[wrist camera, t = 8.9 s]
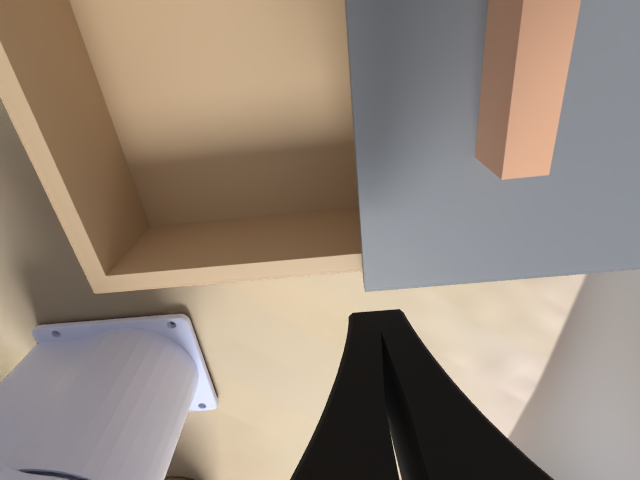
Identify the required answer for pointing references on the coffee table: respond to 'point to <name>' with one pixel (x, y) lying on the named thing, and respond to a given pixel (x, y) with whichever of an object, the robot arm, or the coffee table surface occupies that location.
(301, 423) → the coffee table surface
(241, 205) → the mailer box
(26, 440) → the robot arm
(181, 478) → the mug
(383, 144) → the lid
